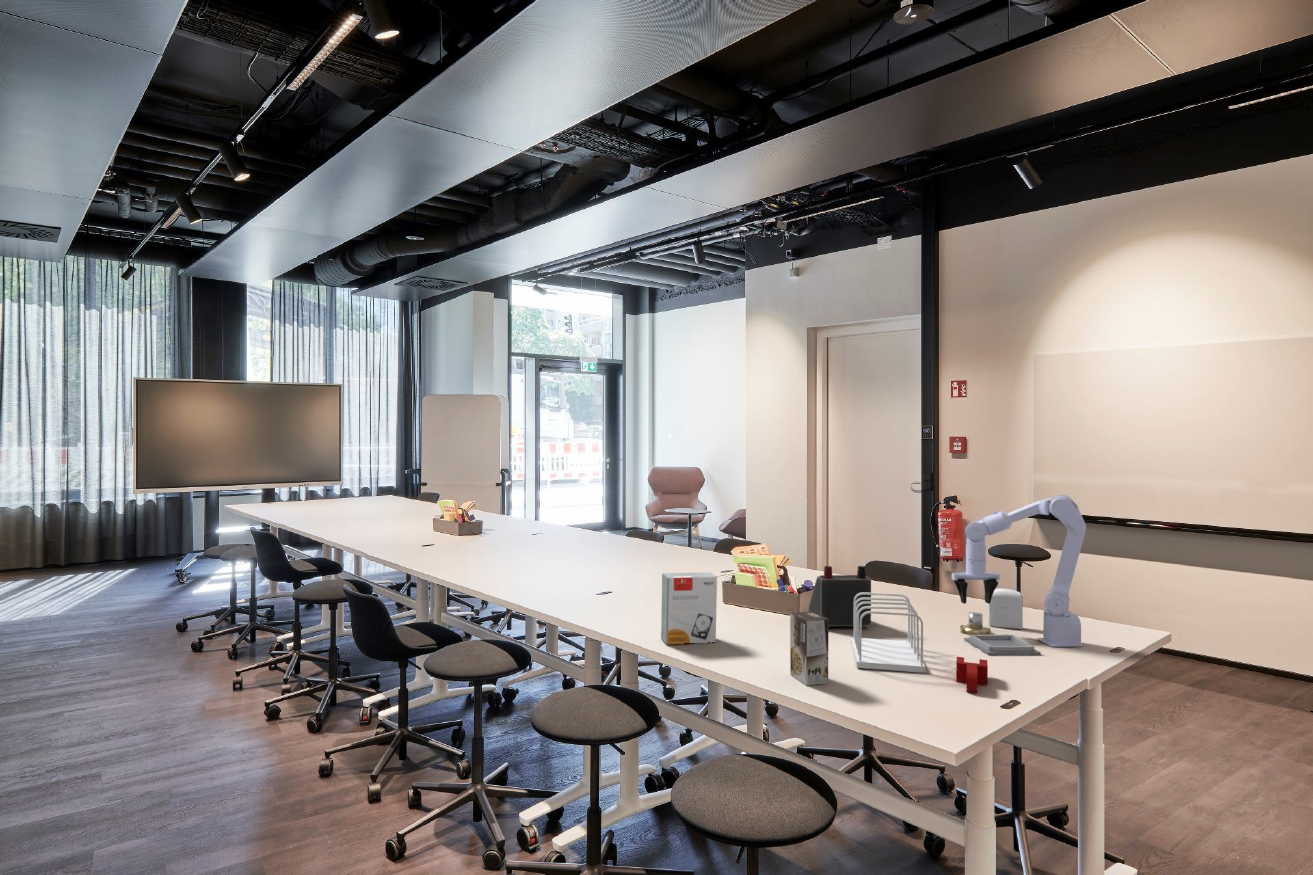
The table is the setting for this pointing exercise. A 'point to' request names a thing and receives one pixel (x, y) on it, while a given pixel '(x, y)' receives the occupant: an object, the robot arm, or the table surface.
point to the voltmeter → (841, 597)
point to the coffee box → (809, 647)
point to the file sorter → (887, 651)
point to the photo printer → (1006, 609)
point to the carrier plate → (1001, 645)
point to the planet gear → (975, 625)
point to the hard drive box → (688, 608)
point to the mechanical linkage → (972, 673)
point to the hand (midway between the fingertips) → (975, 602)
